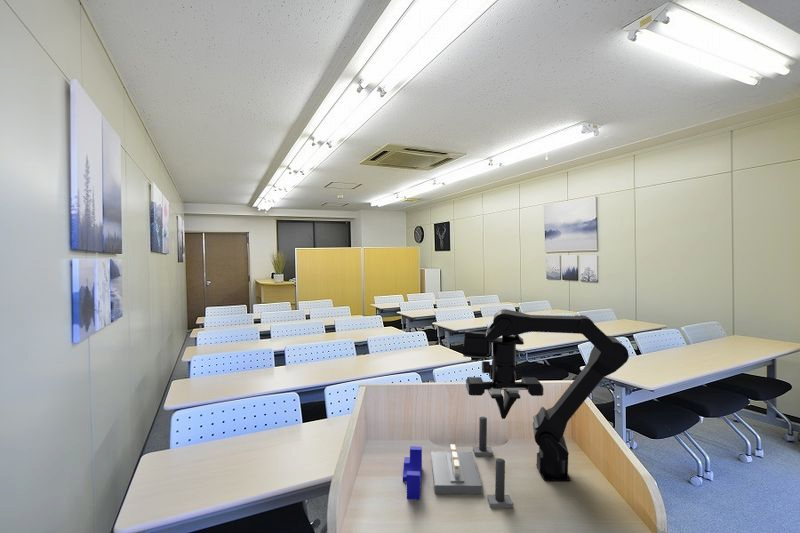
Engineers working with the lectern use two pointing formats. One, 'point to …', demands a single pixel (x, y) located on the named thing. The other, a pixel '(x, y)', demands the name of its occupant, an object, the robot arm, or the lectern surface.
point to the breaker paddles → (454, 460)
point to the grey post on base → (482, 440)
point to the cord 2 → (499, 488)
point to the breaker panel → (445, 474)
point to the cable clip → (413, 472)
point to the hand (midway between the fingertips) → (503, 418)
